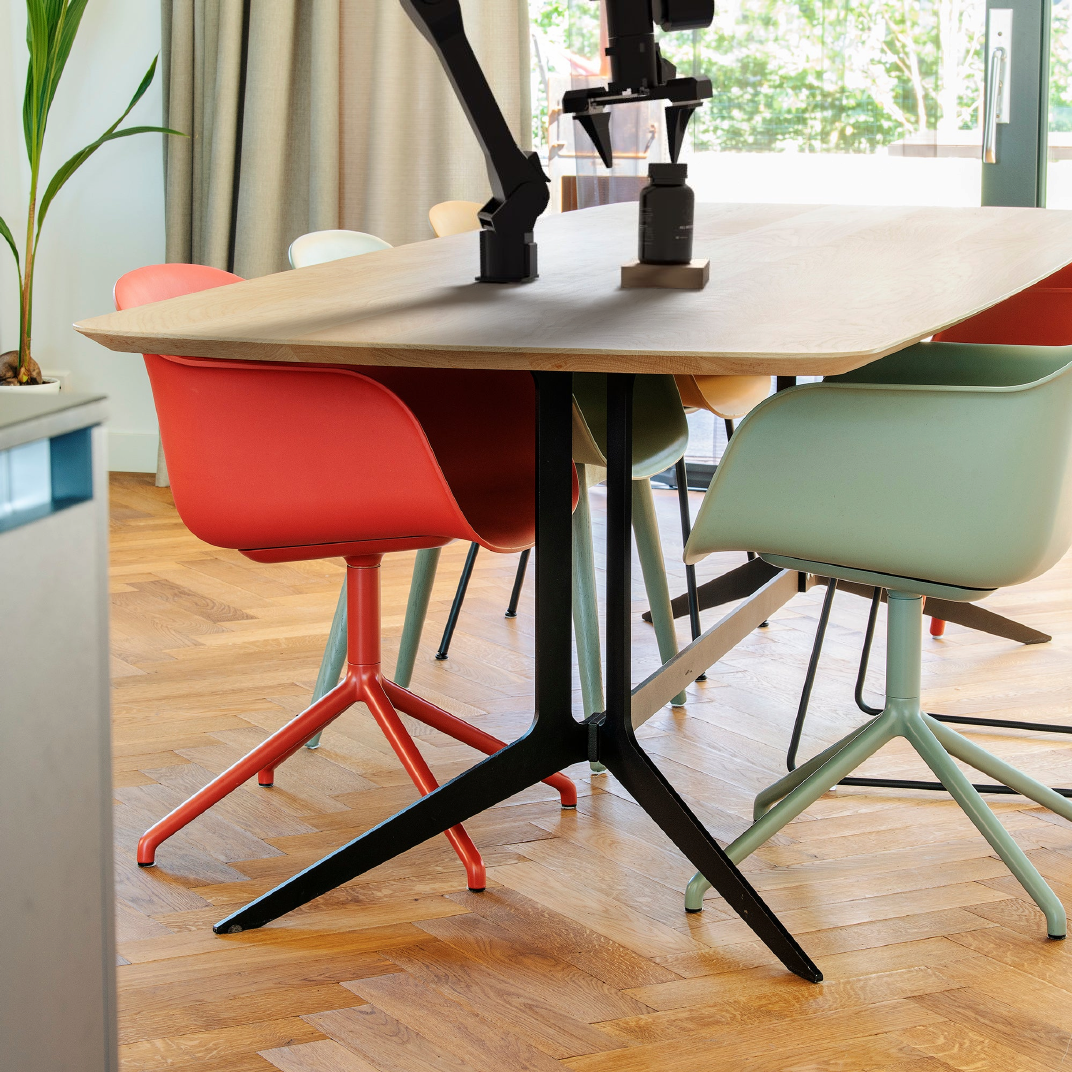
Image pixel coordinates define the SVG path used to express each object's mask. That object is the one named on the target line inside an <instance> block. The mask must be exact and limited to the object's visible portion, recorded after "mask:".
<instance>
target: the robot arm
mask: <svg viewBox="0 0 1072 1072" xmlns="http://www.w3.org/2000/svg"><path fill="white" fill-rule="evenodd" d="M398 1H399V4H400V6H401V7H402V10H403V11H404V12H405V13H406V15H407V16H408V18H409V19H410V21H411V22H412V24H413V25H414V26H415V28H416V29H417V30H418V32H419V33H420V34H421V35H422V36H423V38H424V39H425V40H426V41H427V42H428V44H429V45H430V46H431V47H432V49H433V50H434V52H435V54H436V56H437V57H438V60H439V62H440V65H441V66H442V68H443V71H444V73H445V75H446V77H447V79H448V81H449V83H450V85H451V88H452V90H453V92H454V94H455V96H456V98H457V100H458V102H459V105H460V107H461V108H462V111H463V113H464V115H465V117H466V120H467V121H468V123H469V125H470V128H471V129H472V130H471V131H472V132H473V135H474V136H475V138H476V140H477V142H478V145H479V147H480V149H481V151H482V154H483V156H484V160H485V165H486V166H485V167H486V172H487V178H488V183H489V185H490V189H491V193H492V196H491V198H490V199H489V200H487V202H486V203H485V204H484V205H483V206H482V207H481V208H480V210H478V212H477V213H476V216H477V219H478V222H479V224H480V227H481V229H483V230H479V232H478V234H479V237H478V238H479V276H474V281H475V282H491V283H492V282H494V283H495V282H496V283H500V282H501V283H519V284H520V283H524V282H527V281H531V280H535V279H539V278H540V273H539V272H538V271H539V269H538V268H539V267H538V243H537V242H536V241H535V240H534V239H535V237H534V236H535V234H534V233H535V230H534V229H535V226H536V222H537V220H538V217H539V216H540V217H541V215H542V214H544V212H545V211H546V209H547V208H548V204H549V201H550V199H551V192H550V189H549V186H548V184H547V183H550V184H551V183H552V180H551V179H550V177H549V176H547V174H546V173H545V171H544V168H543V166H542V161H541V159H540V156H539V154H538V153H539V152H537V151H533V150H522V148H520V146H519V145H518V144H517V142H516V141H515V139H514V137H513V135H512V132H511V130H510V128H509V125H508V124H507V121H506V119H505V116H504V115H503V113H502V110H501V109H500V106H499V104H498V102H497V100H496V98H495V96H494V93H493V91H492V89H491V88H490V84H489V82H488V80H487V78H486V76H485V73H484V72H483V70H482V68H481V67H482V66H481V65H480V62H479V61H478V59H477V56H476V54H475V52H474V51H473V47H472V46H471V44H470V41H469V40H468V37H467V35H466V31H465V25H464V19H463V14H462V7H461V2H460V0H398ZM588 1H589V2H595V1H596V2H597V1H598V2H599V1H600V0H588ZM604 2H605V12H606V13H605V14H606V23H607V24H606V28H607V37H608V47H604V56H605V57H609V60H610V73H611V82H607V89H606V87H605V86H597V87H588V88H587V87H586V88H579V89H570V90H565V92H564V94H563V95H562V98H561V107H562V109H561V110H562V114H563V115H565V114H574V115H572V116H571V118H572V120H573V121H578V122H579V124H580V125H581V126H582V128H583V130H584V131H585V132H586V134H587V136H588V137H589V139H590V141H591V142H592V144H593V146H594V147H595V150H596V151H597V153H598V155H599V157H600V159H601V160H602V163H603V165H604V166H605V169H612V168H613V150H612V143H611V141H612V140H611V135H610V134H611V132H610V121H611V119H610V118H611V115H612V110H608V111H604V109H605V108H606V106H611V105H613V106H614V105H621V104H632V103H641V102H651V101H658V100H659V101H660V100H668V101H669V102H671V103H672V105H668V106H664V117H665V127H666V134H667V135H666V137H667V145H668V146H667V147H668V154H669V159H670V163H678V162H679V158H680V157H679V156H680V153H681V149H682V145H683V141H684V137H685V133H686V130H687V128H688V125H689V121H690V119H691V117H692V115H693V114H694V113H695V111H696V109H697V108H701V107H703V106H704V101H701V100H706V99H712V98H714V93H713V82H712V81H711V79H710V77H709V76H708V75H707V74H703V75H693V76H685V77H678V78H677V66H676V65H675V64H673V63H672V62H671V61H670V60H668V59H667V58H664V57H663V56H662V53H661V46H660V42H659V41H656V40H655V27H654V24H655V26H659V27H660V29H661V30H662V32H664V33H672V32H682V31H690V30H700V29H701V30H702V29H707V28H709V27H711V25H712V24H713V20H714V15H715V0H604ZM629 89H630V94H623V93H624V92H628V90H629Z"/></svg>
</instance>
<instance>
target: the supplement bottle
mask: <svg viewBox="0 0 1072 1072" xmlns="http://www.w3.org/2000/svg"><path fill="white" fill-rule="evenodd" d="M647 165H648V166H647V167H648V168H647V174H646V176H647V177H646V178H647V179H649V180H648V181H649V183H648V184H646V185H644V186H643V187H642V188H641V189H640V191H639V195H638V196H639V197H638V200H639V201H638V226H637V228H638V229H637V258H638V260H639V262H641V263H646V264H661V265H676V264H687V263H690V262H691V260H692V259H693V251H694V250H693V245H694V224H695V223H694V221H695V219H694V218H695V217H694V216H695V197H696V196H695V192H694V190H693V188H692V187H691V186H689V185H688V184H686V179H689V178H688V175H689V174H688V167H689V166H688V163H686V162H677V163H671V162H648V164H647Z"/></svg>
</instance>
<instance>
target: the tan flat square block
mask: <svg viewBox="0 0 1072 1072" xmlns="http://www.w3.org/2000/svg"><path fill="white" fill-rule="evenodd" d="M710 262H711V259H706V258H705V259H704V258H702V259H701V258H697V259H696V258H695V259H693V258H692V260H691V262H690V263H687V264H676V265H661V264H646V263H641V262H639V260H638V257H636V258H635V257H633V258H630V259H629V260H628V261H626V262H625V263H624V264H622V265H620V288H641V289H642V288H644V289H646V288H648V289H649V288H653V289H655V288H657V289H695V290H696V289H697V290H698V289H699V290H700V289H704V288H705V286H706V285H707V283H708V282H709V280H710V269H711V268H710V265H711V263H710Z"/></svg>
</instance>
